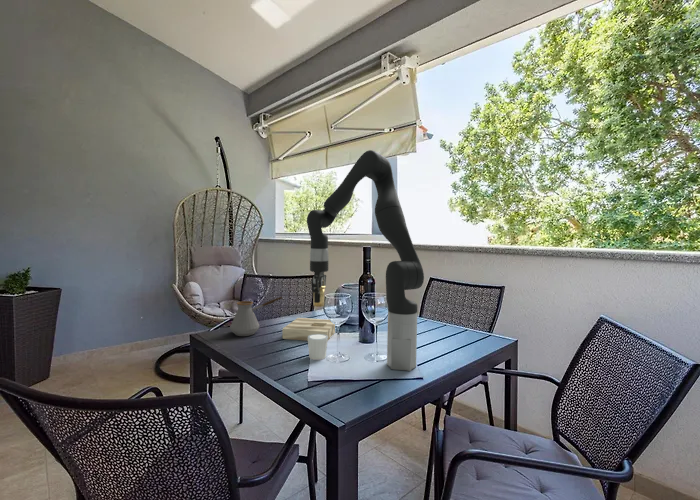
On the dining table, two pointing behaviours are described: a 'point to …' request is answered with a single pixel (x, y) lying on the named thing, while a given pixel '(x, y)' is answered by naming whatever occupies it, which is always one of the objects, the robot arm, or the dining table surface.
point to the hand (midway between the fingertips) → (318, 301)
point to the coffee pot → (247, 318)
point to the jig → (308, 328)
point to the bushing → (320, 298)
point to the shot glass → (317, 346)
